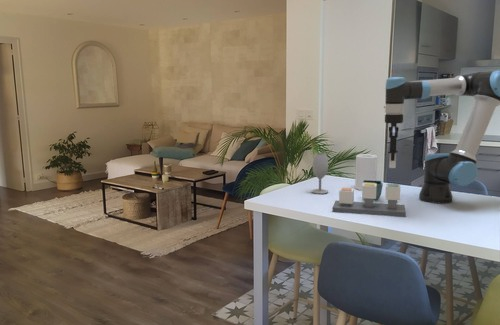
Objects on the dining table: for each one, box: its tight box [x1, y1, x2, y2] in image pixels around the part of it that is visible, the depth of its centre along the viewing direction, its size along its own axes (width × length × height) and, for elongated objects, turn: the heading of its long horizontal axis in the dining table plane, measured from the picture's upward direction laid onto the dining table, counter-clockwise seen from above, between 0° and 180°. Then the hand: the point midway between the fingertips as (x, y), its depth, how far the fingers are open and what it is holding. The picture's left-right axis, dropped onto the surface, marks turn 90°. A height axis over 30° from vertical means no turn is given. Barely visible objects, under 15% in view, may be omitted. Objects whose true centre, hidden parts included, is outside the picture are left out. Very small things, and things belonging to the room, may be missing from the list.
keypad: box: [331, 198, 407, 218], centre depth 193 cm, size 31×13×7 cm, turn 73°
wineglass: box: [311, 152, 329, 195], centre depth 227 cm, size 9×9×21 cm
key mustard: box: [361, 182, 377, 199], centre depth 192 cm, size 6×6×6 cm
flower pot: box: [363, 180, 383, 202], centre depth 212 cm, size 9×9×9 cm
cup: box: [354, 153, 378, 191], centre depth 235 cm, size 11×11×18 cm
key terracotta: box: [338, 187, 355, 204], centre depth 196 cm, size 6×6×6 cm
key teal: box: [385, 183, 402, 201], centre depth 190 cm, size 6×6×6 cm
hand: (392, 167), depth 188 cm, fingers closed
